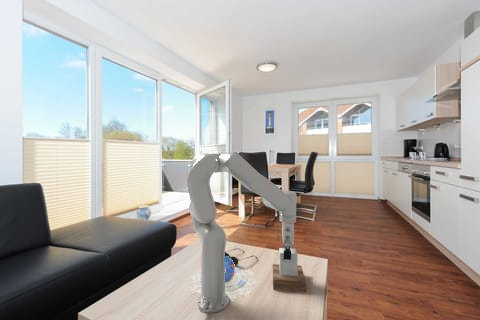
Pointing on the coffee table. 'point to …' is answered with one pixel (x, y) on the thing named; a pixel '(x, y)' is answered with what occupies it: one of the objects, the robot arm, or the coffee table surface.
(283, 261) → the small box
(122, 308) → the coffee table surface
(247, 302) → the coffee table surface
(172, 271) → the coffee table surface
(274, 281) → the walnut block
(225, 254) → the sunglasses
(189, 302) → the coffee table surface
